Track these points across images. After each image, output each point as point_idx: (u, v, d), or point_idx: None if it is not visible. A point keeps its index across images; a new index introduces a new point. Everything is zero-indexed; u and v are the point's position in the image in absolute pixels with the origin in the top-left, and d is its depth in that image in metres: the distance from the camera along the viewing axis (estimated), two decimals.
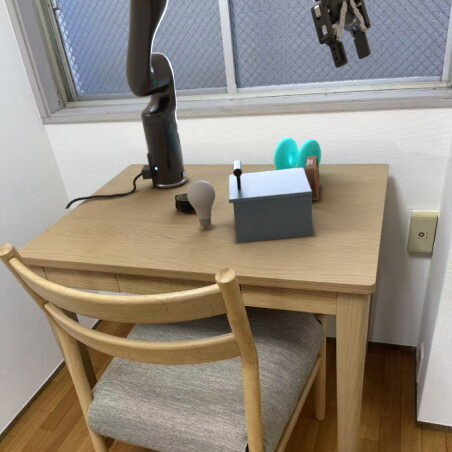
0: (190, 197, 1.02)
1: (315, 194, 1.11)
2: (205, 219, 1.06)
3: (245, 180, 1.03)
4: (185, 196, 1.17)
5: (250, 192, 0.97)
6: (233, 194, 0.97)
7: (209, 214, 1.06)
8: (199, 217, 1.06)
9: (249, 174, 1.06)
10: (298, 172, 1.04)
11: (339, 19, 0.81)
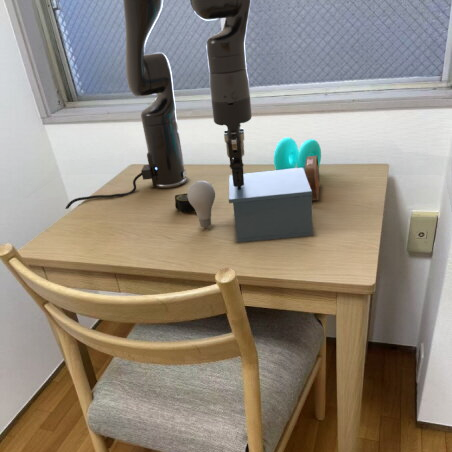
0: (190, 197, 1.02)
1: (315, 194, 1.11)
2: (205, 219, 1.06)
3: (245, 180, 1.03)
4: (185, 196, 1.17)
5: (250, 192, 0.97)
6: (233, 194, 0.97)
7: (209, 214, 1.06)
8: (199, 217, 1.06)
9: (249, 174, 1.06)
10: (298, 172, 1.04)
11: (242, 149, 0.94)
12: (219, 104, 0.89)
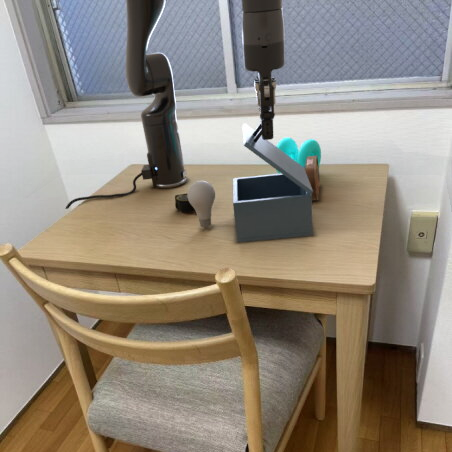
0: (190, 197, 1.02)
1: (315, 194, 1.11)
2: (205, 219, 1.06)
3: (259, 138, 0.98)
4: (185, 196, 1.17)
5: (264, 151, 0.93)
6: (249, 141, 0.91)
7: (209, 214, 1.06)
8: (199, 217, 1.06)
9: (261, 136, 1.02)
10: (301, 169, 1.03)
11: (274, 99, 0.89)
12: (252, 47, 0.84)
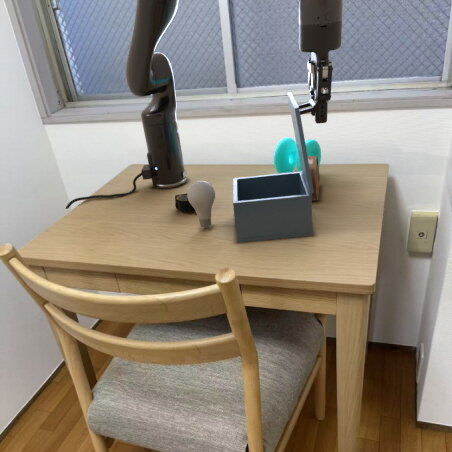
0: (190, 197, 1.02)
1: (315, 194, 1.11)
2: (205, 219, 1.06)
3: None
4: (185, 196, 1.17)
5: None
6: None
7: (209, 214, 1.06)
8: (199, 217, 1.06)
9: None
10: None
11: None
12: (310, 27, 0.82)
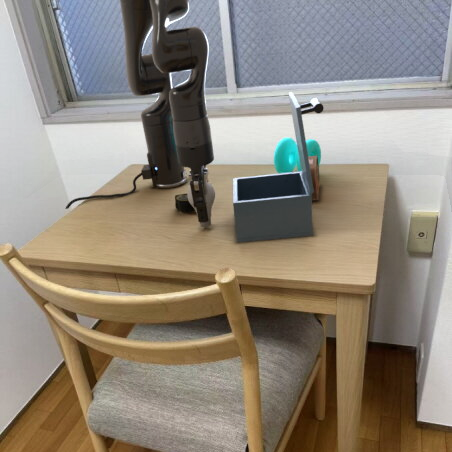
0: (190, 197, 1.02)
1: (315, 194, 1.11)
2: None
3: None
4: (185, 196, 1.17)
5: None
6: None
7: (209, 214, 1.06)
8: None
9: None
10: None
11: (206, 189, 1.00)
12: (182, 148, 0.96)
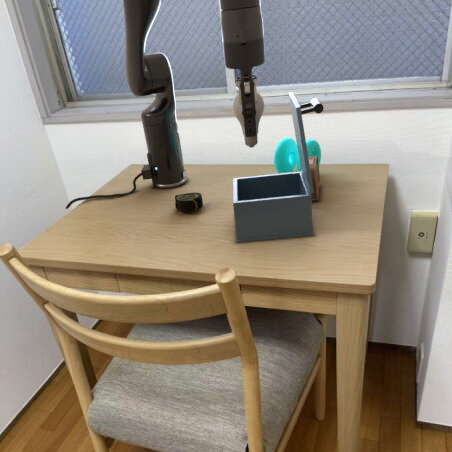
0: (237, 107, 0.91)
1: (315, 194, 1.11)
2: None
3: None
4: (185, 196, 1.17)
5: None
6: None
7: (256, 129, 0.94)
8: None
9: None
10: None
11: (255, 96, 0.89)
12: (231, 45, 0.84)
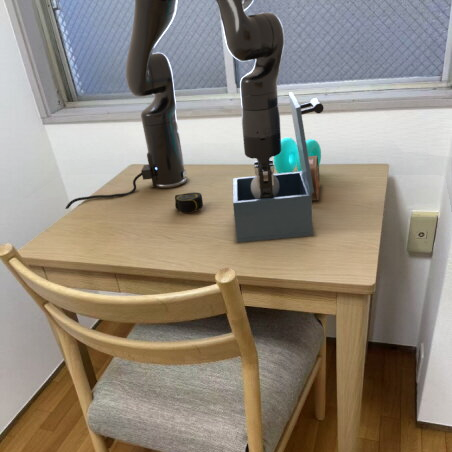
0: (255, 189, 1.00)
1: (315, 194, 1.11)
2: None
3: None
4: (185, 196, 1.17)
5: None
6: None
7: None
8: None
9: None
10: None
11: (272, 180, 0.97)
12: (251, 139, 0.93)
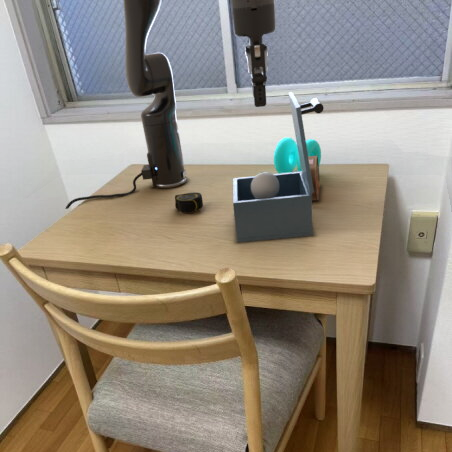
0: (255, 189, 1.00)
1: (315, 194, 1.11)
2: None
3: None
4: (185, 196, 1.17)
5: None
6: None
7: None
8: None
9: None
10: None
11: (266, 63, 0.85)
12: (241, 10, 0.81)
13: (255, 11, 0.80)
